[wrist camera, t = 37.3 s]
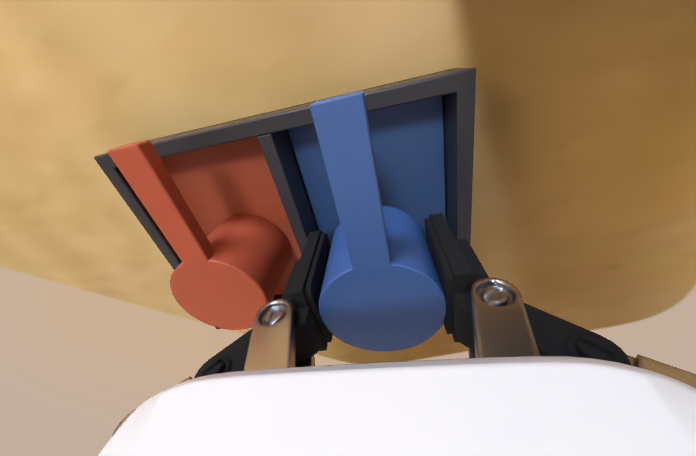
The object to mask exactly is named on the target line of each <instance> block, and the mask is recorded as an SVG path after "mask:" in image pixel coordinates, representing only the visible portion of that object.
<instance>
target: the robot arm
mask: <svg viewBox="0 0 696 456" xmlns="http://www.w3.org/2000/svg"><path fill="white" fill-rule="evenodd" d="M425 234H426V240H427V243H428V246H429V249H430V252H431V255H432V258H433V261H434V264H435V267H436V270H437V273H438V276H439V279H440V282H441V285H442V288H443V291H444V294H445V297H446V302H447V313H446V317H445V320H444V325H445V329H446V332H447V334H451V333H452V335H453V338H454V341H455V342H460V343H462V344H463V345H465V346H466V347H468V350H469V359H448V360H447V359H446V360H428V361H427V360H424V361H404V362H384V363H365V364H346V365H328V366H315V358H314V354H316V353H317V352H318V351H323V350H327V343H328V342H331V340H332V333H331V332H330V331H329V330H328V329H327V328H326V326H325V325H324V323H323V321H322V319H321V316H320V313H319V298H320V293H321V289H322V284H323V280H324V275H325V271H326V266H327V262H328V257H329V253H330V248H331V245H330V242H329V239H328V236H327V233H323V232H322V231H315V232H310V233H309V236H308V238H307V241H306V244H305V246H304V249H303V252H302V255H301V257H300V260H297V261H296V262H295V264H294V266H293V269H292V271H291V274H290V277H289V279H288V282H287V284H286V287H285V289H284V292H283V294H282V297H281V299H276V300H273V301H270V302H268V303H266V304H265V305H263V306H262V307H261V308H260V309H259V311H258V312H257V313H256V316H255V318H254V323H253V328H252V329H251V330H250V331H248V332H247V333H246V334H244V335H243V336H241V337H240V338H239V339H237V340H236V341H234V342H233V343H232V344H230V345H229V346H227V347H226V348H225V349H223V350H222V351H220V352H219V353H218V354H216V355H215V356H213V357H212V358H211V359H209V360H208V361H207V362H206V363H204V364H203V366H202V367H201V368H200V369H199V370H198V372H197V374H196V376H195V378H194V379H192V378H191V377H189V378H187V379H186V380H184V381H182V382H180V383H179V384H177V385H174V386H172V387H170V388H168V389H165V390H163V391H161V392H160V393H158V394H156V395H154V396H153V397H151V398H149V399H148V400H146V401H145V402H144V403H143V404H141V405H140V406H139V407H138V408H137V409H135V410H134V411H132V412H131V413H130V414H128V415H127V416H126V417H125V418H124V419H123V420H122V421H121V422H120V423H119V425H118V426H117V428H116V429H115V431H114V433H113V435H112V438H111V439H110V440H109V442H108V443H107V444H106V445H105V447H104V448H103V449H102V451H101V452H100V454H99V455H98V456H696V374H693V373H690V372H687V371H684V370H682V369H679V368H676V367H673V366H670V365H667V364H664V363H661V362H658V361H655V360H652V359H650V358H647V357H644V356H641V355H637V357H636V358H634V357H631V356H628V355H626V354H625V353H624V352H623V351H622V349H621V348H620V347H618V346H617V345H616V344H614V343H613V342H611V341H610V340H608V339H606V338H604V337H602V336H601V335H598V334H596V333H594V332H591V331H589V330H587V329H584V328H582V327H579V326H577V325H575V324H572V323H570V322H568V321H565V320H563V319H561V318H558V317H556V316H553V315H551V314H549V313H546V312H544V311H542V310H539V309H537V308H535V307H532V306H530V305H527V304H525V303H523V300H522V296H521V294H520V292H519V290H518V289H517V288H516V287H515V286H514V285H513V284H511V283H509V282H507V281H505V280H502V279H498V278H489V277H488V275H487V273H486V272H485V270H484V268H483V266H482V265H481V263H480V261H479V259H478V258H477V256H476V254H475V252H474V251H473V249H472V247H471V245H470V244H469V242H468V241H467V239H460V240H456V239H455V237H454V235H453V233H452V231H451V229H450V227H449V225H448V223H447V221H446V219H445V218H444V216H443V214H442V213H438V214H431V215H429V218H426V219H425Z"/></svg>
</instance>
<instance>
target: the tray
mask: <svg viewBox="0 0 696 456" xmlns="http://www.w3.org/2000/svg"><path fill="white" fill-rule="evenodd" d="M475 86H476V68H453V69H449V70H445V71H441V72H436V73H432V74H428V75H424V76H419V77H415V78H411V79H407V80H403V81H398V82H394V83H390V84H386V85H381V86H377V87H373V88H369V89H365V90H362V91H363V92H364V96H365V102H366V108H367V115H368V121H369V127H370V133H371V139H372V146H373V152H374V158H375V164H376V170H377V177H378V183H379V189H380V195H381V201H382V206H390V207H394V208H397V209H400V210H402V211H404V212H406V213H408V214H409V215H411V216H412V217H413V218H414V219H415V220H416V221H417V222H418V223H419V224H420V226H421V227H422V229H423V231H424V234H425V219H426V218H429V215H431V214H438V213H442V214H443V216H444V218H445V219H446V221H447V223H448V225H449V227H450V229H451V231H452V233H453V235H454V237H455V239H456V240H460V239H467V241H468V242H469V244H470V235H471V205H472V175H473V146H474V116H475ZM360 91H361V90H360ZM343 95H344V94H343ZM322 100H323V99H322ZM314 102H315V101H314ZM311 103H313V102H310V103H305V104H301V105H297V106H293V107H289V108H284V109H280V110H276V111H272V112H267V113H263V114H259V115H255V116H250V117H246V118H242V119H238V120H234V121H229V122H225V123H221V124H217V125H212V126H208V127H204V128H200V129H196V130H191V131H187V132H183V133H179V134H174V135H170V136H166V137H162V138H158V139H153V140H149V141H150V142H151V143H152V145H153V146H154V148H155V150H156V152H157V153H158V155H159V157H160V158H161V160H162V162H163V164H164V165H165V167H166V169H167V170H168V172H169V174H170V176H171V177H172V179H173V181H174V182H175V184H176V186H177V187H178V189H179V191H180V193H181V194H182V196H183V198H184V199H185V201H186V203H187V205H188V206H189V208H190V210H191V211H192V213H193V215H194V217H195V218H196V220H197V222H198V223H199V225H200V227H201V228H202V230H203V232H204V234H205V235H206V237H207V236H208V235H209V234H210V233H211V232H212V231H213V230H214V229H215V228H216V227H217V226H218V225H219V224H220V223H221V222H222V221H224V220H225V219H226V218H228V217H231V216H233V215H238V214H251V215H256V216H259V217H262V218H264V219H267V220H269V221H270V222H272V223H273V224H275V225H276V226H277V227H278V228H279V229H280V230H281V231H282V232H283V233H284V234H285V236H286V238H287V239H288V242H289V244H290V248H291V258H290V261H289V264H288V266H287V268H286V271H285V273H284V275H283V277H282V280H281V282H280V284H279V287H278V289H277V291H276V294H275V296H274V298H273V300H276V299H281V297H282V294H283V292H284V289H285V287H286V284H287V282H288V279H289V277H290V274H291V271H292V269H293V266H294V264H295V262H296V261H297V260H300V257H301V255H302V252H303V249H304V246H305V244H306V241H307V238H308V236H309V233H310V232H315V231H322V232H323V233H327V236H328V239H329V242H330V245H331V244H332V239H333V236H334V232H335V230H336V228H337V227H338V225H339V224H340V220H339V216H338V212H337V209H336V205H335V201H334V197H333V193H332V190H331V186H330V182H329V178H328V174H327V171H326V167H325V163H324V159H323V155H322V152H321V148H320V144H319V140H318V136H317V133H316V129H315V125H314V121H313V118H312V114H311V110H310V104H311ZM94 159H95V160H96V161H97V163H98V164H99V166H100V167H101V168H102V170H103V171H104V173H105V174H106V175H107V177H108V178H109V180H110V181H111V182H112V184H113V185H114V187H115V188H116V189H117V191H118V192H119V194H120V195H121V196H122V198H123V199H124V200H125V202H126V203H127V205H128V206H129V207H130V209H131V210H132V212H133V213H134V214H135V216H136V217H137V219H138V220H139V221H140V223H141V224H142V226H143V227H144V228H145V230H146V231H147V233H148V234H149V235H150V237H151V238H152V240H153V241H154V242H155V244H156V245H157V247H158V248H159V249H160V251H161V252H162V254H163V255H164V256H165V258H166V259H167V261H168V262H169V263H170V265H171V266H172V267H173V269H174V270H175V269H176V268H177V267H178V266H179V265H180V264H181V263H182V261H181V259H180V258H179V256H178V255H177V253H176V252H175V250H174V249H173V247H172V246H171V244H170V243H169V242H168V240H167V239H166V237H165V236H164V234H163V233H162V231H161V230H160V228H159V227H158V225H157V224H156V223H155V221H154V220H153V218H152V217H151V215H150V214H149V212H148V211H147V209H146V208H145V206H144V205H143V203H142V202H141V201H140V199H139V198H138V196H137V195H136V193H135V192H134V190H133V189H132V187H131V186H130V184H129V183H128V181H127V180H126V179H125V177H124V176H123V174H122V173H121V171H120V170H119V168H118V167H117V165H116V164H115V162H114V161H113V159H112V158H111V157H110V155H109V154H108V153H105V154H101V155H98V156H95V157H94ZM425 237H426V234H425ZM215 328H216V329H221V328H218V327H215Z"/></svg>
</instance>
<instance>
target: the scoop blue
mask: <svg viewBox="0 0 696 456" xmlns="http://www.w3.org/2000/svg"><path fill="white" fill-rule="evenodd" d="M310 110H311V114H312V118H313V121H314V125H315V129H316V133H317V136H318V140H319V144H320V148H321V152H322V155H323V159H324V163H325V167H326V171H327V174H328V178H329V182H330V186H331V190H332V193H333V197H334V201H335V205H336V209H337V212H338V216H339V220H340V224H339V225H338V227H337V228H336V230H335V232H334V236H333V239H332V244H331V248H330V253H329V257H328V262H327V266H326V271H325V275H324V280H323V284H322V289H321V293H320V298H319V313H320V316H321V319H322V321H323V323H324V325H325V326H326V328H327V329H328V330H329V331H330V332H331V333H332V334H333V335H334V336H336V337H337V338H339V339H340V340H342V341H344V342H345V343H347V344H350V345H352V346H355V347H358V348H362V349H366V350H373V351H395V350H401V349H406V348H410V347H413V346H415V345H418V344H420V343H422V342H424V341H425V340H427V339H429V338H430V337H431V336H433V335H434V334H435V333H436V332H437V331H438V330H439V328H440V327H441V326H442V324H443V322H444V320H445V317H446V313H447V302H446V297H445V294H444V291H443V288H442V285H441V282H440V279H439V276H438V273H437V270H436V267H435V264H434V261H433V258H432V255H431V252H430V249H429V246H428V243H427V240H426V237H425V234H424V231H423V229H422V227H421V226H420V224H419V223H418V222H417V221H416V220H415V219H414V218H413V217H412V216H411V215H409V214H408V213H406V212H404V211H402V210H400V209H397V208H394V207H390V206H382V201H381V195H380V189H379V183H378V177H377V170H376V164H375V158H374V152H373V146H372V139H371V133H370V127H369V121H368V115H367V108H366V102H365V96H364V92H363V91H362V90H361V91H356V92H352V93H348V94H344V95H339V96H335V97H331V98H327V99H323V100H318V101H315V102H313V103H311V104H310Z"/></svg>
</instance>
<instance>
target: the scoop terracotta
mask: <svg viewBox="0 0 696 456" xmlns="http://www.w3.org/2000/svg"><path fill="white" fill-rule="evenodd" d="M108 154H109V155H110V157H111V158H112V159H113V161H114V162H115V164H116V165H117V167H118V168H119V170H120V171H121V173H122V174H123V176H124V177H125V179H126V180H127V181H128V183H129V184H130V186H131V187H132V189H133V190H134V192H135V193H136V195H137V196H138V198H139V199H140V201H141V202H142V203H143V205H144V206H145V208H146V209H147V211H148V212H149V214H150V215H151V217H152V218H153V220H154V221H155V223H156V224H157V225H158V227H159V228H160V230H161V231H162V233H163V234H164V236H165V237H166V239H167V240H168V242H169V243H170V244H171V246H172V247H173V249H174V250H175V252H176V253H177V255H178V256H179V258H180V259H181V261H182V263H181V264H180V265H179V266H178V267H177V268H176V269H175V270H174V271H173V273H172V276H171V280H170V286H171V291H172V294H173V296H174V297H175V299H176V301H177V302H178V303H179V304H180V306H181V307H182V308H183V309H184V310H185V311H187V312H188V313H189V314H190V315H192V316H193V317H195V318H196V319H198V320H200V321H202V322H204V323H206V324H209V325H211V326H215V327H218V328H223V329H230V330H241V329H247V328H250V327H253V323H254V318H255V316H256V313H257V312H258V311H259V309H260V308H261V307H262V306H263V305H265V304H266V303H268V302H270V301H273V298H274V296H275V294H276V291H277V289H278V287H279V284H280V282H281V280H282V277H283V275H284V273H285V271H286V268H287V266H288V264H289V261H290V258H291V248H290V244H289V242H288V239H287V238H286V236H285V234H284V233H283V232H282V231H281V230H280V229H279V228H278V227H277V226H276V225H275V224H273V223H272V222H270V221H269V220H267V219H264V218H262V217H259V216H256V215H251V214H238V215H233V216H231V217H228V218H226V219H225V220H224V221H222V222H221V223H220V224H219V225H218V226H217V227H216V228H215V229H214V230H213V231H212V232H211V233H210V234H209V235H208V236H207V237H206V235H205V234H204V232H203V230H202V228H201V227H200V225H199V223H198V222H197V220H196V218H195V217H194V215H193V213H192V211H191V210H190V208H189V206H188V205H187V203H186V201H185V199H184V198H183V196H182V194H181V193H180V191H179V189H178V187H177V186H176V184H175V182H174V181H173V179H172V177H171V176H170V174H169V172H168V170H167V169H166V167H165V165H164V164H163V162H162V160H161V158H160V157H159V155H158V153H157V152H156V150H155V148H154V146H153V145H152V143H151V142H150V141H149V140H145V141H141V142H137V143H133V144H129V145H124V146H120V147H117V148H114V149H110V150H109V151H108Z"/></svg>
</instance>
